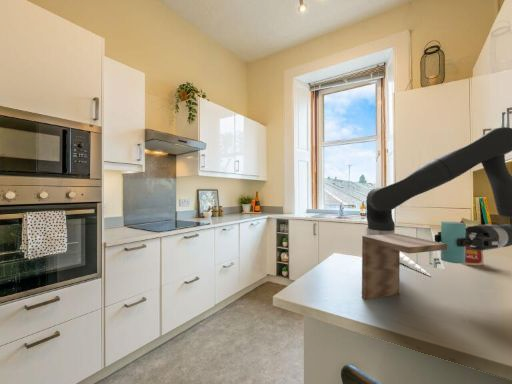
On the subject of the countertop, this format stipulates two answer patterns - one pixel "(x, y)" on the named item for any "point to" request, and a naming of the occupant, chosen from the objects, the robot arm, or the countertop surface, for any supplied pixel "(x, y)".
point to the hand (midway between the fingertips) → (447, 240)
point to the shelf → (388, 261)
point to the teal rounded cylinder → (453, 242)
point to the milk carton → (472, 255)
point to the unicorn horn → (411, 264)
